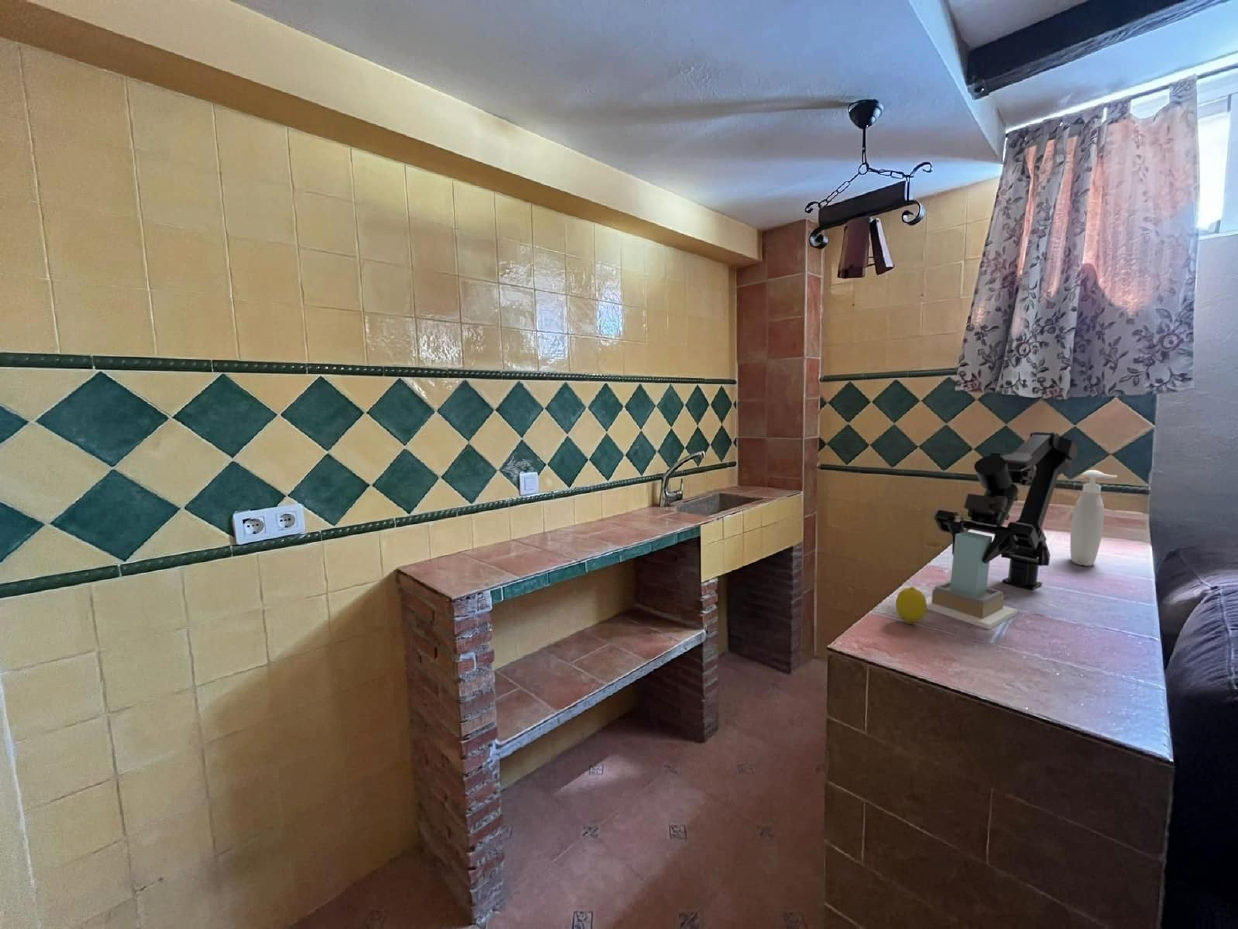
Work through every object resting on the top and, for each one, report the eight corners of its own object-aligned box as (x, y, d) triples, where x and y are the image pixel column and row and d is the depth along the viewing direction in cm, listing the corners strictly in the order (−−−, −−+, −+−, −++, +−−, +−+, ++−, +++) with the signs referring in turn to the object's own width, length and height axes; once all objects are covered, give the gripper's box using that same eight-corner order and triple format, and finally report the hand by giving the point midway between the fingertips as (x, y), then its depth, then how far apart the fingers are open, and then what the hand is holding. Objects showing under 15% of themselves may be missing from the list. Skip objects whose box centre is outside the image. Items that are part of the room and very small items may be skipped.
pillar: (960, 586, 115) (966, 531, 113) (985, 594, 110) (992, 536, 109) (949, 590, 112) (955, 534, 110) (974, 598, 108) (981, 539, 106)
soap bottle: (1106, 572, 137) (1120, 474, 133) (1067, 566, 142) (1078, 471, 138) (1103, 560, 147) (1115, 469, 144) (1066, 554, 153) (1077, 466, 149)
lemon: (929, 631, 101) (932, 593, 100) (899, 628, 102) (902, 590, 101) (919, 619, 107) (922, 583, 106) (890, 617, 108) (893, 581, 107)
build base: (947, 593, 121) (949, 574, 121) (1017, 614, 110) (1019, 593, 109) (917, 605, 114) (919, 585, 113) (988, 629, 102) (990, 607, 102)
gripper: (941, 475, 118) (912, 527, 113) (1039, 487, 102) (1011, 548, 98) (954, 504, 123) (927, 555, 119) (1050, 519, 108) (1023, 579, 103)
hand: (968, 558), depth 109 cm, fingers open, 6 cm apart
